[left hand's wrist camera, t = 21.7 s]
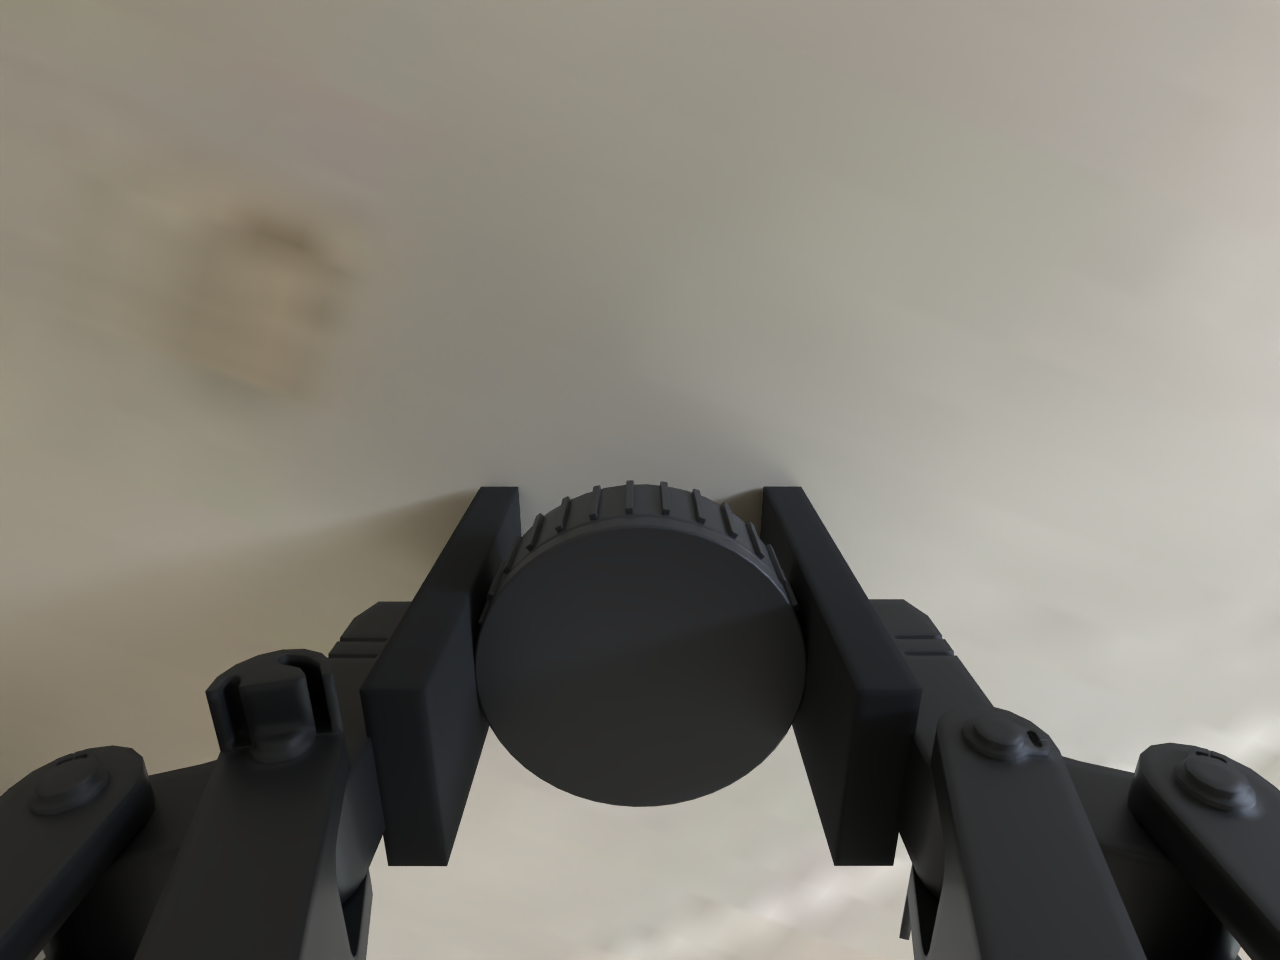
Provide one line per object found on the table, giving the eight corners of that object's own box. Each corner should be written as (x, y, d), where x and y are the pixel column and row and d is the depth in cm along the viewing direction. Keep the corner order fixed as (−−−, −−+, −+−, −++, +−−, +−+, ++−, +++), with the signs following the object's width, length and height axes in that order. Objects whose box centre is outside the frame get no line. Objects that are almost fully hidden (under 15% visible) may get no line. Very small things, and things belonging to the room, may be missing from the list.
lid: (709, 423, 11) (721, 458, 9) (835, 671, 12) (864, 737, 11) (432, 561, 12) (399, 615, 10) (583, 777, 13) (575, 853, 12)
